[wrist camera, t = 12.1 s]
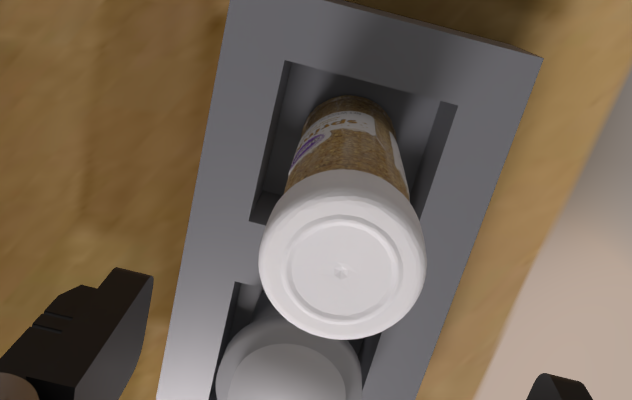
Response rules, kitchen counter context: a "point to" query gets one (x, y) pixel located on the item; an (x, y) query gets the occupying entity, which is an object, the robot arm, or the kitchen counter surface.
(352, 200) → the sprinkles bottle
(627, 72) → the kitchen counter surface
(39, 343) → the robot arm
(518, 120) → the tray
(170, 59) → the kitchen counter surface
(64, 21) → the kitchen counter surface
